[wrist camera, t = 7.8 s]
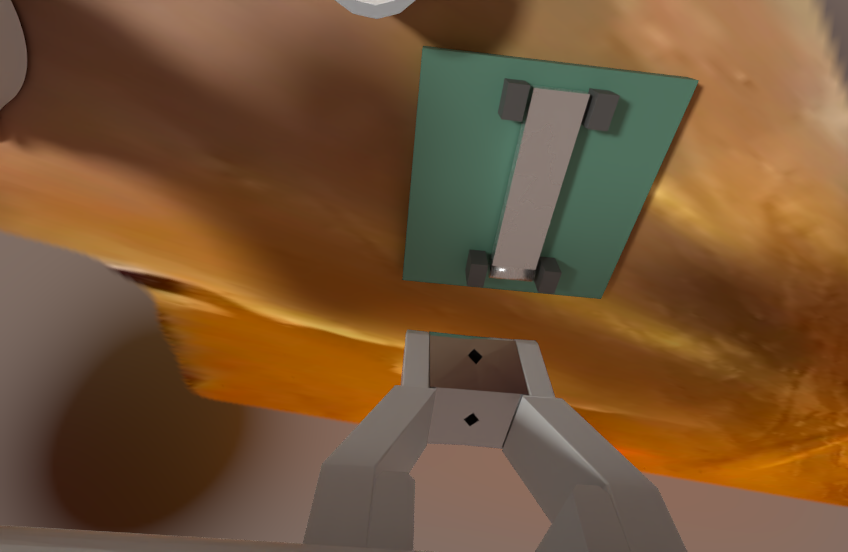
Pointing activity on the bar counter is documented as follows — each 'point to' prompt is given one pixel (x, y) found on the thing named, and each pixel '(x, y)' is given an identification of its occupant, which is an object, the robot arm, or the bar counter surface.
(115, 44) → the bar counter surface
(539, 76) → the board
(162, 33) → the bar counter surface
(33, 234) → the bar counter surface
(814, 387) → the bar counter surface
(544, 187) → the steel strap
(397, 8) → the white cylinder
